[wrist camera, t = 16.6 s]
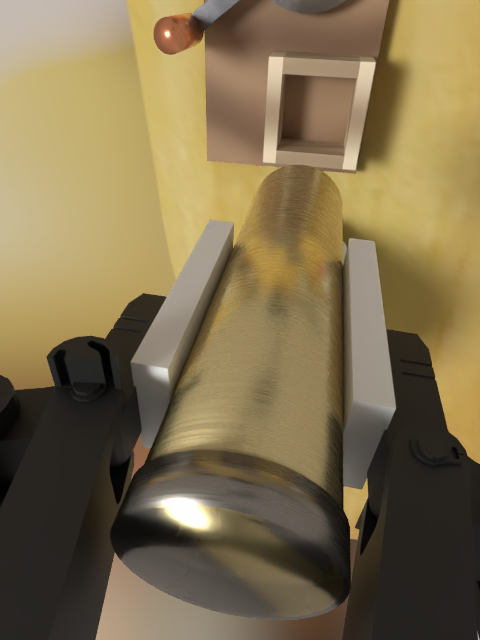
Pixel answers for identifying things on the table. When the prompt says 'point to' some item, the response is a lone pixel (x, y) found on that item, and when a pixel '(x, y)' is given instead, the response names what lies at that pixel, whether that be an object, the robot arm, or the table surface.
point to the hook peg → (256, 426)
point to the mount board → (300, 90)
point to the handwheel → (190, 27)
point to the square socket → (312, 150)
